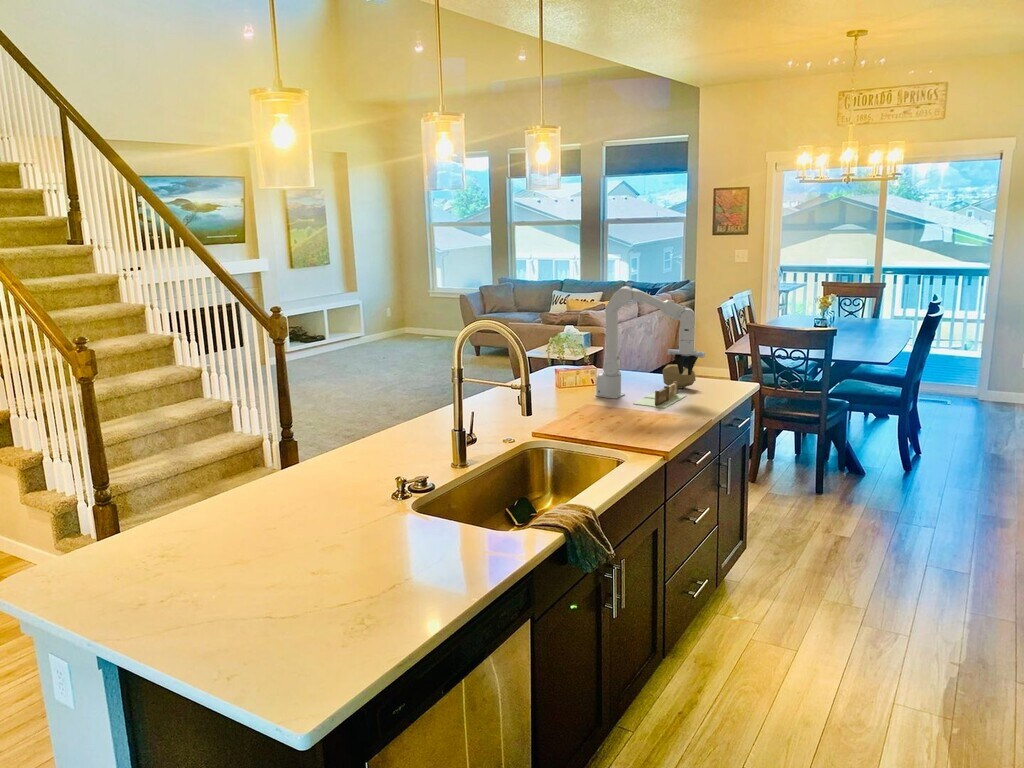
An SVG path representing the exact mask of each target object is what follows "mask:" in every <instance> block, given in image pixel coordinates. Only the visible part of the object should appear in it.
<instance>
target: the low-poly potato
mask: <svg viewBox="0 0 1024 768" xmlns="http://www.w3.org/2000/svg"><path fill="white" fill-rule="evenodd" d="M662 378H663V383H664V385H665V386H669V385H671V384H673V382H674V381H677V382H678V384H677V389H683V388H686V387H690V386H693V384H694V383H695V382H696V380H697V379H696V372H695V371H694V369H693V370H692V374H691V375H688V367H687V368H686V367H684V366H683V374H679V369H678V366H677V363H675V364H667V365H666V366H665V367H664V368H663V369H662Z"/></svg>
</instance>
